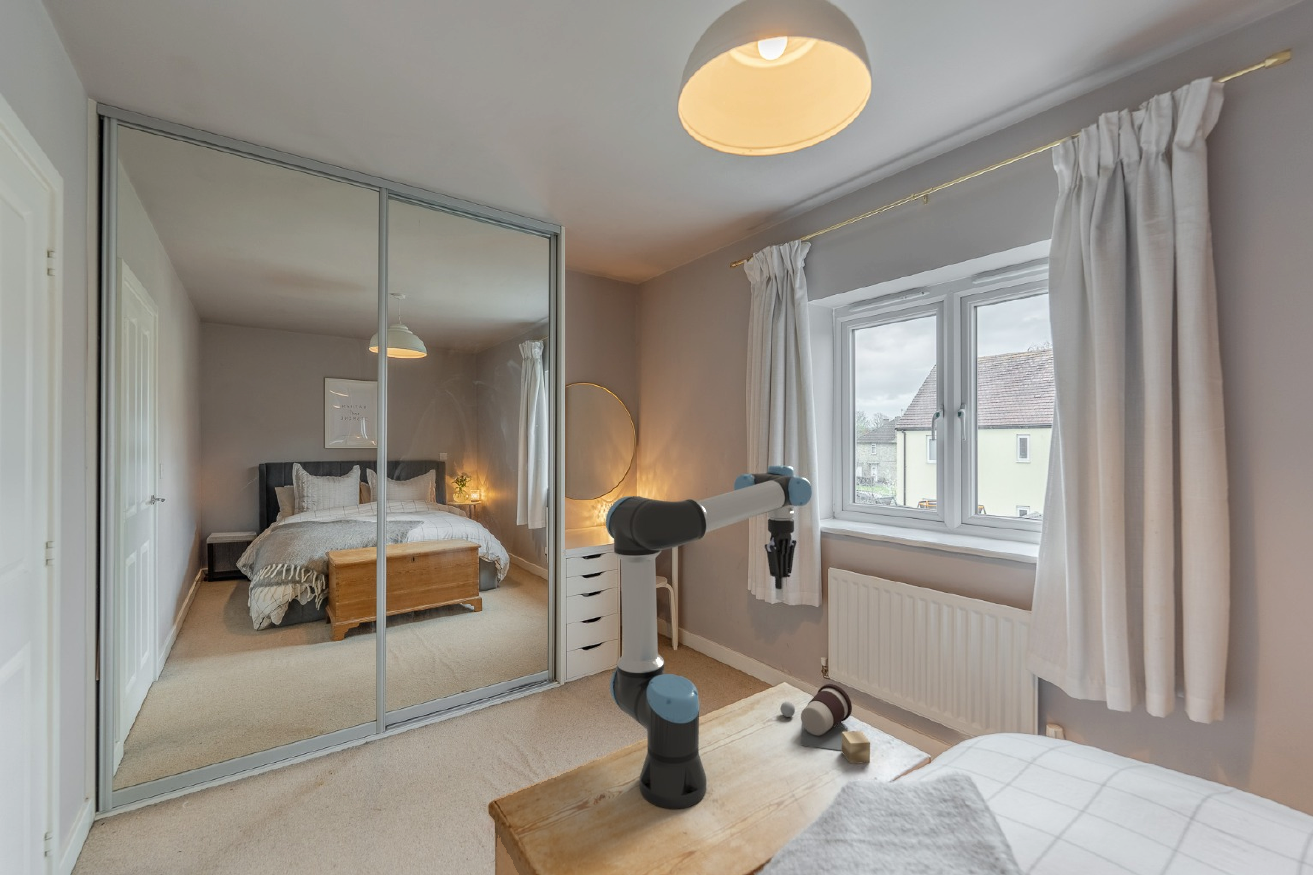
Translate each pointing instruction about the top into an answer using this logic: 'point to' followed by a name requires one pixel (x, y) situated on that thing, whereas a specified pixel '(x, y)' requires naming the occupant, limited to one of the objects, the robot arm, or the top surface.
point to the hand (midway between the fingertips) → (780, 599)
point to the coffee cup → (826, 709)
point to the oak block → (855, 747)
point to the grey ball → (787, 709)
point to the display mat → (824, 739)
